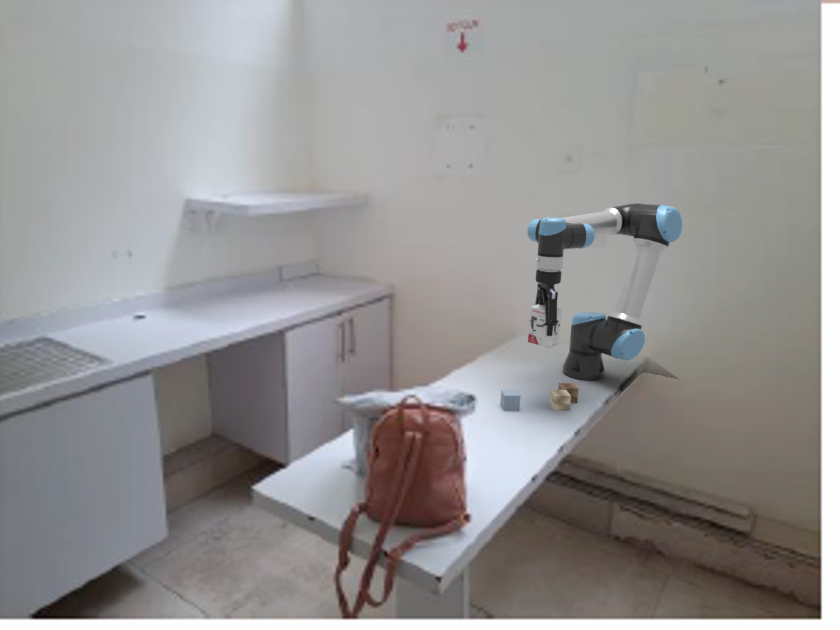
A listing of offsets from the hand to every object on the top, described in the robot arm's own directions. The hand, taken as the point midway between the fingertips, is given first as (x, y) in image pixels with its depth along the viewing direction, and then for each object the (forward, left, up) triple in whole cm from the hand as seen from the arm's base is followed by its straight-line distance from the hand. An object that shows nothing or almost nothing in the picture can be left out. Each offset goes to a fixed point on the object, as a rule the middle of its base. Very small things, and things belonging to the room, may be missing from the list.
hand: (543, 340), depth 180 cm
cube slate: (+10, +2, -22) cm, 24 cm away
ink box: (0, 0, -1) cm, 1 cm away
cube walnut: (-11, -4, -22) cm, 25 cm away
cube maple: (-6, +2, -22) cm, 23 cm away
